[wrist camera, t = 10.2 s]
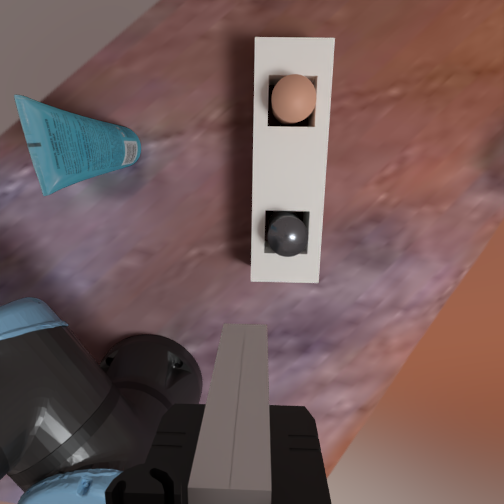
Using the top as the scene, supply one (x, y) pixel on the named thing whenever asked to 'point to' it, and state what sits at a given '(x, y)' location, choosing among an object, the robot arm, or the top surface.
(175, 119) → the top surface
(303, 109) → the tan rounded peg
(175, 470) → the robot arm
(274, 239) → the plunger graphite
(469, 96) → the top surface
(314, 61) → the block
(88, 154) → the tube
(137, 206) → the top surface
